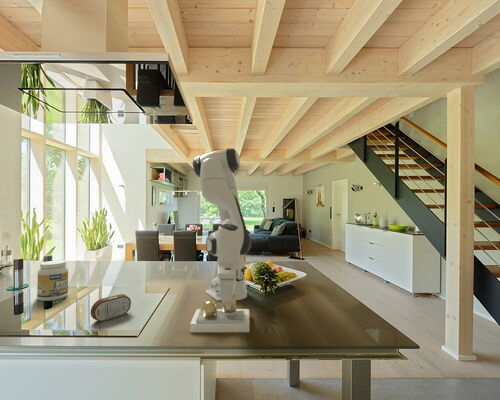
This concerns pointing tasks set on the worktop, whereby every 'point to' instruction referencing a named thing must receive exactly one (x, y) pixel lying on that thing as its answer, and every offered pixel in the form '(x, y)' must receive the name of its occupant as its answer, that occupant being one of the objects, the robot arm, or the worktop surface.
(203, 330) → the scale
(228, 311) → the weight
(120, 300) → the tin
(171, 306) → the worktop surface
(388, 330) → the worktop surface
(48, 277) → the supplement tub
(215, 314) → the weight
